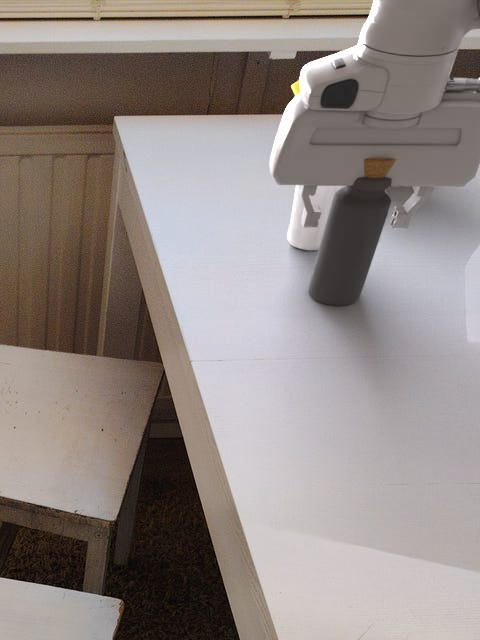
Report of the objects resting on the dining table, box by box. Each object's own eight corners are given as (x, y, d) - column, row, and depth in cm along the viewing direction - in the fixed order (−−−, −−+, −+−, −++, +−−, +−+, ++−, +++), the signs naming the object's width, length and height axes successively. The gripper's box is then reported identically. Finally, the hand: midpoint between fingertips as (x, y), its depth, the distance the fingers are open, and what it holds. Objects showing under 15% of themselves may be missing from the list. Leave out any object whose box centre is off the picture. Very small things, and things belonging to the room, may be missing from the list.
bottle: (357, 309, 92) (405, 166, 81) (304, 301, 94) (343, 159, 82) (362, 284, 96) (408, 143, 84) (310, 277, 97) (349, 137, 85)
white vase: (333, 258, 100) (374, 120, 88) (276, 251, 101) (309, 114, 90) (337, 233, 104) (377, 98, 92) (283, 227, 105) (315, 93, 94)
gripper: (501, 66, 79) (445, 214, 90) (285, 66, 81) (255, 211, 92) (522, 89, 75) (460, 241, 86) (294, 89, 77) (261, 238, 88)
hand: (353, 226), depth 89 cm, fingers open, 8 cm apart
